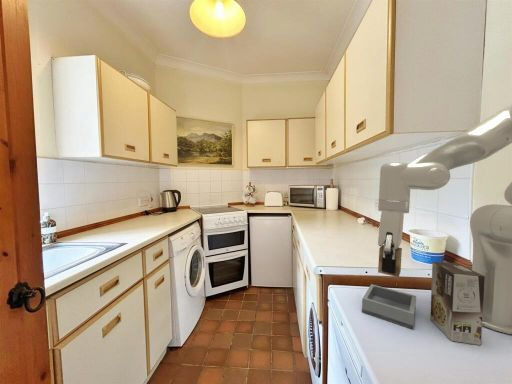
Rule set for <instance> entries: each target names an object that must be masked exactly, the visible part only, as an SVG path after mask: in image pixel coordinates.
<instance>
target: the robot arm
mask: <svg viewBox="0 0 512 384" xmlns="http://www.w3.org/2000/svg"><path fill="white" fill-rule="evenodd" d="M511 144H512V104H510V105H508V106H506V107H504V108H502V109H500V110H499V111H497V112H496V113H494V114H492V115H490V116H489V117H487V118H486V119H484V120H482V121H481V122H480V123H478V124H477V125H475V126H473V127H472V128H470V129H468V130H466V131H465V132H463V133H462V134H460V135H458V136H456V137H455V138H453V139H449V141H447V142H445V143H443V144H441V145H440V146H438V147H436V148H434V149H432V150H430V151H428V152H427V153H425V154H423V155H421V156H419V157H418V158H416V159H414V160H413V161H412V162H410V163H407V162H387V163H383V164H382V165H381V166H380V169H379V170H380V171H379V186H378V188H379V190H378V191H379V192H378V203H377V204H378V208H377V211H378V212H381V214H380V218H379V219H380V220H379V228H378V238H377V239H378V240H377V246H379V247H381V246H382V245H384V251H383V257H382V271H383V272H387V273H391V274H395V269H396V259H395V251H396V249H397V248H400V246H401V243H402V239H403V238H402V237H403V231H404V220H405V219H404V215H405V214H410V205H411V204H410V201H411V199H410V198H411V190H421V191H434V190H435V191H436V190H439V189H441V188H443V187H445V186H446V185H447V184H448V183H449V181H450V180H451V170H452V169H457V168H459V167H464V166H467V165H472V164H474V163H478V162H480V161H483V160H485V159H488V158H490V157H491V156H493V155H494V154H496V153H498V152H499V151H502V150H503V149H504V148H507V147H508V146H509V145H511ZM503 193H504V194H503V195H504V199H505V201H506V202H507V203H508V204H510V205H508V204H497V203H496V204H486V205H482V206H480V207H477V208H476V209H474V211H473V212H472V213H471V215H470V219H469V227H470V232H471V237H472V264H471V265H472V266H471V270H473V271H475V272H477V273H479V274H481V275H483V276H485V282H484V300H483V316H482V327H485V328H488V329H490V330H493V331H496V332H500V333H504V334H508V335H512V181H511V182H510V183H509V184H508V186H506V188H505V190H504V192H503ZM391 246H392V247H394V248H392V247H391ZM391 250H393V252H392V251H391ZM392 253H393V254H392Z"/></svg>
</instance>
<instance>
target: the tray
mask: <svg viewBox="0 0 512 384" xmlns="http://www.w3.org/2000/svg"><path fill="white" fill-rule="evenodd" d="M416 309H417V295H414V294H410V293H406V292H403V291H399V290H395V289H392V288H388V287H383V286H380V285H377V284H372V283H371V284H370V286H369V287H368V288H367V290H366V292H365V293H364V295H363V296H362V301H361V313H362V314H366V315H370V316H372V317H375V318H378V319H380V320H383V321H386V322H390V323H392V324H394V325H395V324H396V325H398V326H401V327H404V328H406V329H409V330H412V331H414V325H415V317H416V311H415V310H416Z"/></svg>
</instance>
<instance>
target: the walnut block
mask: <svg viewBox="0 0 512 384" xmlns="http://www.w3.org/2000/svg"><path fill="white" fill-rule="evenodd" d="M391 247H392V246H391ZM392 248H394V247H392ZM378 249H379V251H378V264H377V265H378V266H377V267H378V268H377V269H378V270H377V273H379V274H384V275H387V276H392V277H395V278H399V277H400V275H401V269H402V256H403V255H402V254H403V251H402V250H403V248H402V247H399V248H397V249H396V251H395V259H396V269H395V274H391V273H387V272H383V271H382V257H383V251H384V244H383V245H381V246H379V248H378ZM391 251H392V252H393V250H391ZM392 254H393V253H392Z"/></svg>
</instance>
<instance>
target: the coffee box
mask: <svg viewBox="0 0 512 384" xmlns="http://www.w3.org/2000/svg"><path fill="white" fill-rule="evenodd" d="M431 263H432V267H431V271H432V272H431V290H430V291H431V293H430V294H431V295H430V297H431V298H430V318H429V319H430V321H432V323H433V324H434V325H435V326H436V327H437V328H438V329H440V330H439V331H440V332H442V333H443V334H444V335H445V336H446V337H447V338H448V339H449V340H450V341H451V342H458V343H464V344H471V345H477V346H481V345H482V335H483V333H482V331H483V326H482V316H483V300H484V282H485V276H483V275H481V274H479V273H477V272H475V271H473V270H472V268H469V267H467V266H465V265H462V264H460V263H455V262H439V261H438V262H437V261H432V262H431Z"/></svg>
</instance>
